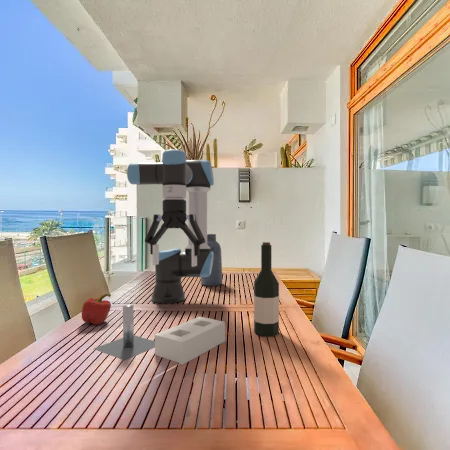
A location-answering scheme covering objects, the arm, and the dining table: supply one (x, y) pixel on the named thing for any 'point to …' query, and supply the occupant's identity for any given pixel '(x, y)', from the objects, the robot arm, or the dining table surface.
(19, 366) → the dining table surface
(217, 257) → the blue-grey bottle
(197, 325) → the block
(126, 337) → the peg
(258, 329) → the wine bottle
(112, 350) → the mat
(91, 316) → the vegetable
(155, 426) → the dining table surface
